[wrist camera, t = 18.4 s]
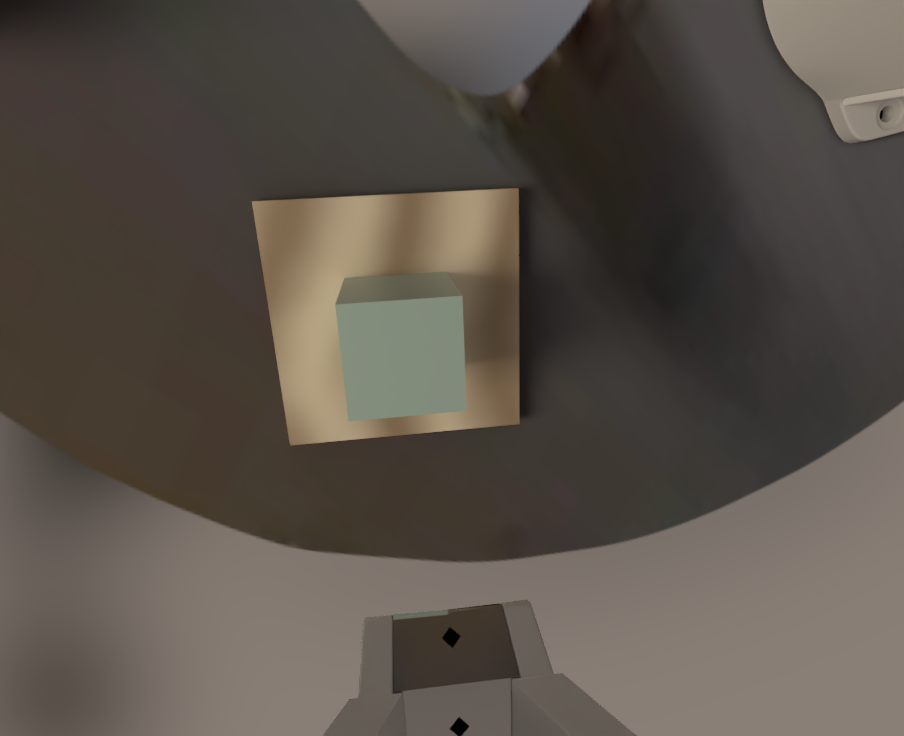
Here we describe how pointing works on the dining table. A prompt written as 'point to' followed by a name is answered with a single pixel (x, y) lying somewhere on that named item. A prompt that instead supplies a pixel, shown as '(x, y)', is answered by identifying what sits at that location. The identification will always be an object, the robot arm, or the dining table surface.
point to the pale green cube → (401, 345)
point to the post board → (378, 254)
